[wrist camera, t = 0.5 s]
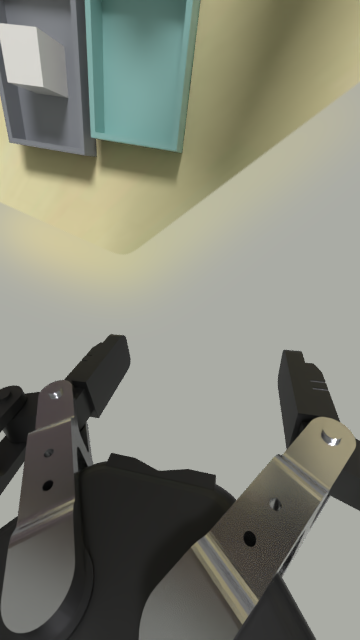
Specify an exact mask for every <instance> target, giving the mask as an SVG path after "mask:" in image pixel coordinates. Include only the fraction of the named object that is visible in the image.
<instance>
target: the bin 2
mask: <svg viewBox="0 0 360 640" xmlns="http://www.w3.org/2000/svg"><path fill="white" fill-rule="evenodd" d="M199 8H200V0H85V18H86V40H87V62H88V84H89V106H90V128H91V137H92V138H96V139H100V140H105V141H111V142H117V143H123V144H129V145H135V146H141V147H148V148H154V149H160V150H166V151H172V152H178V153H182V150H183V141H184V133H185V125H186V116H187V108H188V100H189V91H190V83H191V75H192V67H193V58H194V50H195V42H196V33H197V25H198V17H199Z"/></svg>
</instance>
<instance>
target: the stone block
mask: <svg viewBox="0 0 360 640" xmlns="http://www.w3.org/2000/svg"><path fill="white" fill-rule="evenodd" d="M0 42H1V48H2V53H3V59H4V65H5V70H6V76H7V82H8V83H11V84H13V85H16V86H19V87H21V88H24V89H26V90H29V91H32V92H34V93H37V94H44V95H51V96H58V97H65V98H68V87H67V74H66V62H65V49H64V46H63V45H61V44H60V43H58V42H57V41H56V40H54V39H53V38H51V37H50V36H48V35H47V34H46V33H44V32H43V31H41V30H40V29H38V28H37V27H32V26H22V25H13V24H3V23H0Z"/></svg>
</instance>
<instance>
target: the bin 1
mask: <svg viewBox="0 0 360 640" xmlns="http://www.w3.org/2000/svg"><path fill="white" fill-rule="evenodd" d="M0 23H3V24H13V25H22V26H32V27H37V28H38V29H40V30H41V31H43V32H44V33H46V34H47V35H48V36H50V37H51V38H53V39H54V40H56V41H57V42H58V43H60V44H61V45H63V46H64V49H65V62H66V74H67V87H68V98H65V97H58V96H51V95H44V94H37V93H34V92H32V91H29V90H26V89H24V88H21V87H19V86H16V85H13V84H11V83H8V82H7V76H6V70H5V65H4V59H3V53H2V48H1V42H0V96H1V101H2V106H3V111H4V117H5V122H6V127H7V132H8V137H9V142H10V143H16V144H21V145H27V146H33V147H39V148H45V149H50V150H56V151H62V152H68V153H74V154H79V155H85V156H94V157H97V152H96V138H92V137H91V128H90V106H89V84H88V62H87V40H86V18H85V0H0Z"/></svg>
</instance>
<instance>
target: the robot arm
mask: <svg viewBox="0 0 360 640" xmlns="http://www.w3.org/2000/svg"><path fill="white" fill-rule="evenodd" d="M129 366H130V354H129V349H128V345H127V340H126V337H125V336H124V335H113V334H111V335H109V336H108V337H107V338H106V340H105V341H104V342H103V343H99V344H98V345H96V346H95V347H93V348H92V349H91V350H90V351H89V352H88V354H87V355H86V356H85V357H84V358H83V359H82V361H80V363H79V364H78V365H77V366H76V367H75V368H74V369H73V370H72V372H71V373H70V374H69V375H68V376H67V377H66V378H65V380H59V381H55V382H52V383H50V384H49V385H47V386H46V387H44V388H43V389H42V390H41V392H36V393H27V394H24V392H23V390H22V389H21V388H20V387H19V386H8V387H5V388H3V389H0V432H1V431H2V430H3V431H4V433H5V434H6V436H5V437H4V438H3V440H2V441H1V442H0V495H1V493H2V492H3V491H4V489H5V488H6V486H7V485H8V484H9V482H10V481H11V479H12V478H13V477H14V475H15V474H16V472H17V471H18V469H19V468H20V467H21V465H22V464H23V462H24V469H23V477H22V486H21V495H20V502H19V511H18V516H17V517H16V518H14V519H13V520H12V521H10V522H9V523H8V524H6V525H5V526H3V527H2V528H1V529H0V640H316V638H315V637H314V635H313V633H312V631H311V629H310V628H309V626H308V624H307V622H306V620H305V619H304V617H303V615H302V613H301V611H300V610H299V608H298V606H297V604H296V602H295V600H294V599H293V597H292V595H291V593H290V591H289V590H288V588H287V586H286V584H285V582H284V580H283V579H282V576H283V575H284V573H285V572H286V570H287V568H288V567H289V565H290V563H291V562H292V560H293V558H294V557H295V555H296V553H297V552H298V550H299V548H300V546H301V545H302V543H303V541H304V539H305V538H306V536H307V534H308V532H309V531H310V529H311V527H312V526H313V524H314V522H315V521H316V519H317V518H318V516H319V514H320V513H321V511H322V509H323V507H324V506H325V504H326V503H327V501H328V499H329V498H330V496H333V497H334V498H336V499H338V500H340V501H342V502H344V503H346V504H348V505H350V506H352V507H353V508H356V509H358V510H359V511H360V441H359V440H357V439H355V437H354V436H353V434H352V432H351V431H350V430H349V429H348V428H347V427H346V426H345V425H343V424H342V423H340V420H339V418H338V415H337V412H336V410H335V407H334V404H333V401H332V399H331V396H330V393H329V391H328V388H327V385H326V383H325V379H324V377H323V374H322V372H321V371H320V370H319V369H318V368H317V367H316V366H315V365H314V364H312V363H305V361H304V358H303V354H302V352H301V351H290V350H283V353H282V359H281V364H280V369H279V375H278V390H279V398H280V405H281V412H282V419H283V426H284V433H285V440H286V448H287V450H286V451H285V453H284V454H283V455H279V454H278V455H276V456H275V457H274V458H273V459H272V460H271V461H270V462H269V463H268V464H267V466H266V467H265V468H264V469H263V470H262V471H261V473H260V474H259V475H258V476H257V477H256V478H255V479H254V481H253V482H252V483H251V484H250V485H249V487H248V488H247V489H246V490H245V491H244V492H243V493H242V494H241V496H240V497H239V498H238V499H237V500H236V499H235V498H234V497H233V496H232V495H231V494H230V493H228V492H227V491H226V490H224V489H223V488H222V487H220V486H218V485H216V475H213V474H208V473H203V472H199V471H194V470H189V469H184V470H167V471H158V470H156V469H154V468H152V467H150V466H149V465H147V464H145V463H143V462H141V461H140V460H138V459H136V458H133V457H128V456H123V455H119V454H114V453H111V455H110V457H109V459H108V461H107V462H101V463H97V464H93V461H92V455H91V447H90V440H89V431H88V424H87V422H86V421H87V420H88V418H89V417H96V418H99V417H100V415H101V413H102V412H103V410H104V408H105V407H106V405H107V403H108V402H109V400H110V399H111V397H112V395H113V394H114V392H115V390H116V389H117V387H118V385H119V383H120V382H121V380H122V379H123V377H124V375H125V374H126V372H127V370H128V368H129Z"/></svg>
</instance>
